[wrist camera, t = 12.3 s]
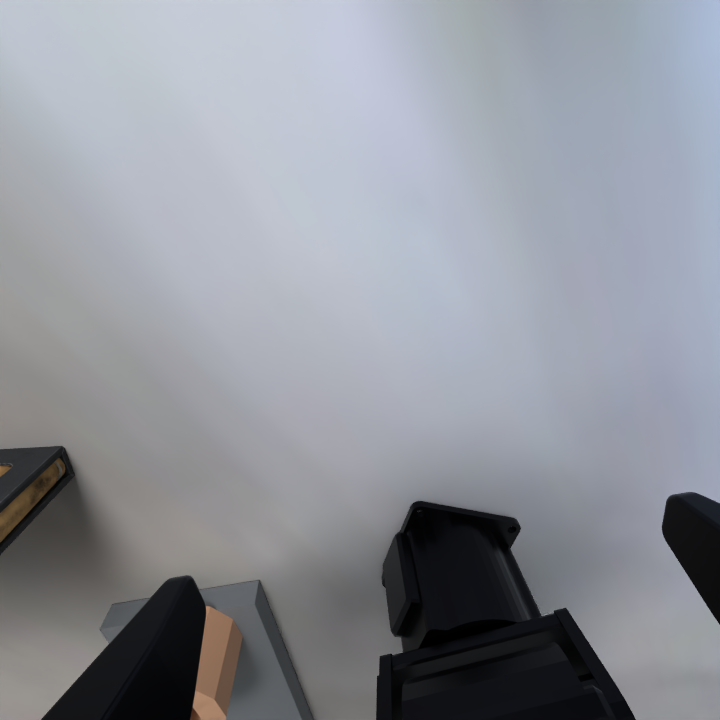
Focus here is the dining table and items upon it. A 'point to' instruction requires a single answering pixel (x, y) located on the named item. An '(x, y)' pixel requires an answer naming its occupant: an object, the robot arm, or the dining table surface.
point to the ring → (216, 666)
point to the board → (243, 653)
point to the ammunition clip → (28, 486)
